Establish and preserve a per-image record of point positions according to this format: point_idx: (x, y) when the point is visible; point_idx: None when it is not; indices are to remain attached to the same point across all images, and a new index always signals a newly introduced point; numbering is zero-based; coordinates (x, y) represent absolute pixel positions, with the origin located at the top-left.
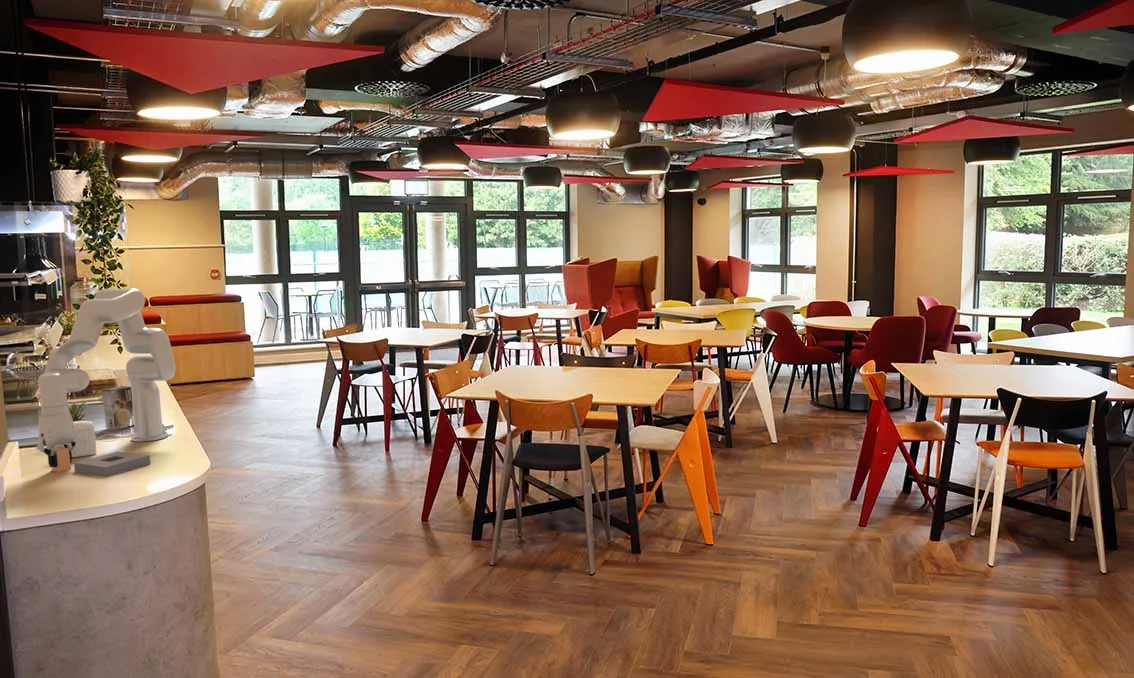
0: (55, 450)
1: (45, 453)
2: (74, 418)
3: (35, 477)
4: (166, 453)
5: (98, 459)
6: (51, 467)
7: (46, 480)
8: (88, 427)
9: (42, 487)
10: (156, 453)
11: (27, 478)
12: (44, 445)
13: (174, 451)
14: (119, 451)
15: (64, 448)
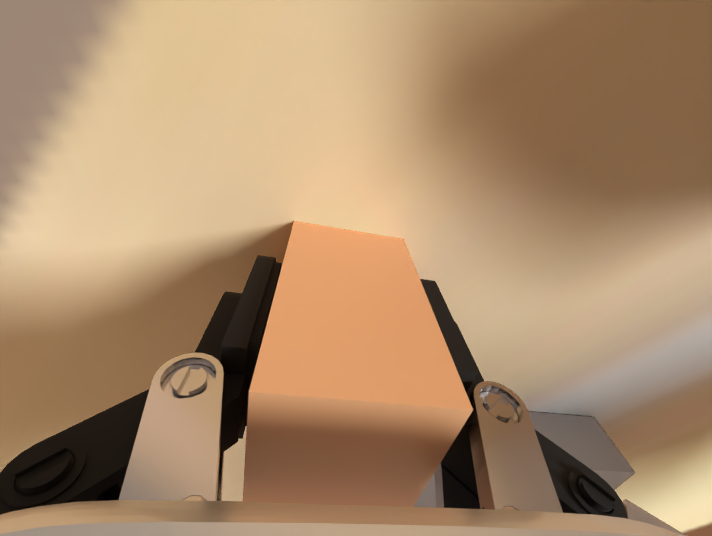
0: (265, 471)
1: (123, 411)
2: None
3: (81, 260)
4: (670, 495)
5: (416, 503)
6: (289, 238)
7: (92, 388)
8: None
9: (4, 461)
10: (690, 469)
11: (13, 217)
12: (75, 520)
13: (700, 498)
14: (625, 480)
15: (395, 485)
